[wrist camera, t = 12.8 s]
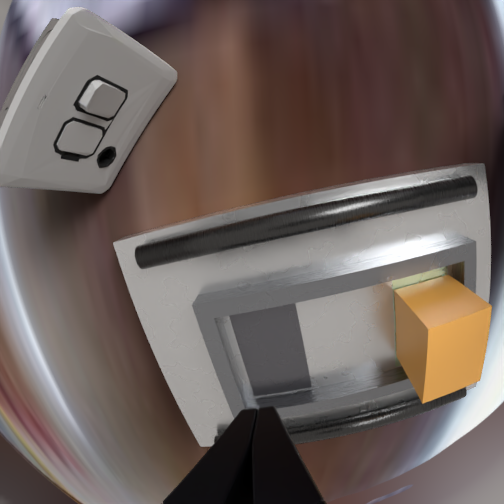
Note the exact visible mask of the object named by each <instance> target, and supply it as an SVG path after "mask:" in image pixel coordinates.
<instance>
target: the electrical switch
mask: <svg viewBox="0 0 504 504" xmlns="http://www.w3.org/2000/svg"><path fill="white" fill-rule="evenodd" d="M38 44H39V45H38ZM176 81H177V71H176V70H174V69H173V68H172V67H171V66H170V65H168V64H167V63H166V62H164V61H163V60H162V59H160V58H159V57H158V56H156V55H155V54H154V53H152V52H151V51H149V50H148V49H147V48H145V47H144V46H142V45H141V44H140V43H138V42H137V41H135V40H134V39H132V38H131V37H129V36H128V35H127V34H125V33H124V32H122V31H121V30H119V29H118V28H116V27H115V26H113V25H112V24H110V23H108V22H107V21H105V20H104V19H102V18H101V17H99V16H98V15H96V14H94V13H93V12H91V11H90V10H88V9H85V8H82V7H74V8H69V9H68V10H67V11H66V12H65V13H64V14H63V16H62V17H61V18H60V20H59V19H56V18H55V19H54V18H52V19H51V21H50V22H49V24H48V25H47V27H46V28H45V30H44V31H43V33H42V34H41V36H40V37H39V39H38V41H37V42H36V44H35V45H34V47H33V49H32V50H31V52H30V54H29V56H28V57H27V59H26V61H25V63H24V64H23V66H22V68H21V70H20V72H19V74H18V76H17V78H16V80H15V82H14V84H13V86H12V88H11V90H10V92H9V94H8V96H7V98H6V100H5V103H4V105H3V107H2V109H1V112H0V187H13V188H31V189H46V190H60V191H73V192H86V193H97V194H101V193H103V192H105V191H106V190H108V189H109V188H110V187H111V185H112V183H113V181H114V179H115V178H116V176H117V174H118V172H119V170H120V169H121V167H122V165H123V163H124V162H125V160H126V158H127V156H128V155H129V153H130V151H131V150H132V148H133V146H134V145H135V143H136V141H137V140H138V138H139V136H140V135H141V133H142V132H143V130H144V128H145V127H146V125H147V124H148V122H149V121H150V119H151V118H152V116H153V114H154V113H155V111H156V110H157V109H158V107H159V106H160V104H161V103H162V101H163V100H164V98H165V97H166V95H167V94H168V93H169V91H170V90H171V88H172V87H173V86H174V84H175V83H176Z"/></svg>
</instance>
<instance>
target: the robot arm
mask: <svg viewBox="0 0 504 504" xmlns="http://www.w3.org/2000/svg"><path fill="white" fill-rule="evenodd" d="M163 504H327V503H326V502H325V501H324V499H323V497H322V495H321V493H320V491H319V489H318V487H317V486H316V484H315V482H314V480H313V478H312V476H311V475H310V473H309V471H308V469H307V467H306V465H305V463H304V462H303V460H302V458H301V456H300V454H299V452H298V450H297V448H296V446H295V444H294V443H293V441H292V439H291V437H290V435H289V433H288V431H287V429H286V427H285V425H284V423H283V421H282V419H281V417H280V415H279V413H278V411H277V409H276V407H275V406H266V407H260V408H259V409H257V408H249V409H243V410H241V411H240V412H239V413H238V414H237V416H236V417H235V418H234V420H233V421H232V422H231V423H230V425H229V426H228V427H227V428H226V430H225V431H224V432H223V433H222V434H221V436H220V437H219V438H218V439H217V441H216V442H215V443H214V444H213V445H212V447H211V448H210V449H209V450H208V451H207V453H206V454H205V455H204V456H203V457H202V458H201V460H200V461H199V462H198V463H197V464H196V465H195V467H194V468H193V469H192V470H191V471H190V472H189V473H188V475H187V476H186V477H185V478H184V479H183V480H182V481H181V482H180V483H179V485H178V486H177V487H176V488H175V489H174V490H173V491H172V492H171V493H170V494H169V495H168V497H167V498H166V499H165V500H164V501H163Z"/></svg>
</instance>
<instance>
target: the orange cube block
mask: <svg viewBox="0 0 504 504" xmlns="http://www.w3.org/2000/svg"><path fill="white" fill-rule="evenodd" d="M394 298H395V316H396V357H397V358H398V360H399V362H400V364H401V365H402V367H403V369H404V371H405V373H406V374H407V376H408V378H409V380H410V382H411V383H412V385H413V387H414V389H415V391H416V393H417V394H418V396H419V398H420V400H421V402H422V404H423V403H426V402H428V401H431V400H434V399H437V398H439V397H442V396H444V395H447V394H450V393H452V392H455V391H457V390H459V389H462V388H464V387H466V386H469V385H471V384H473V383H476V382H478V381H480V378H481V373H482V368H483V364H484V358H485V353H486V347H487V341H488V334H489V327H490V319H491V310H492V306H491V305H490V304H489V303H487V302H486V301H485V300H483V299H482V298H481V297H479V296H478V295H476V294H475V293H474V292H472V291H471V290H470V289H468V288H467V287H465V286H464V285H463V284H461V283H460V282H458V281H457V280H456V279H454V278H453V277H451V276H450V275H445V276H442V277H438V278H435V279H432V280H428V281H424V282H421V283H417V284H414V285H410V286H406V287H403V288H399V289H395V290H394Z"/></svg>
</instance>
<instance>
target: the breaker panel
mask: <svg viewBox="0 0 504 504" xmlns="http://www.w3.org/2000/svg"><path fill="white" fill-rule="evenodd" d="M113 244H114V247H115V251H116V254H117V257H118V260H119V263H120V266H121V269H122V272H123V275H124V278H125V281H126V284H127V287H128V289H129V292H130V295H131V298H132V300H133V303H134V306H135V308H136V311H137V314H138V316H139V319H140V321H141V324H142V326H143V329H144V331H145V334H146V336H147V338H148V341H149V343H150V346H151V348H152V350H153V353H154V355H155V357H156V359H157V362H158V364H159V366H160V368H161V371H162V373H163V375H164V377H165V379H166V381H167V383H168V385H169V388H170V390H171V392H172V394H173V396H174V398H175V400H176V402H177V404H178V406H179V408H180V410H181V412H182V414H183V415H184V417H185V419H186V421H187V423H188V425H189V427H190V429H191V430H192V432H193V434H194V436H195V438H196V440H197V441H198V443H199V445H200V447H206V446H212V445H213V444H214V443H215V442H216V441H217V439H218V438H219V437H220V436H221V434H222V433H223V432H224V431H225V430H226V428H227V427H228V426H229V425H230V423H231V422H232V421H233V420H234V418H235V417H236V416H237V414H238V413H239V412H240V411H241V410H243V409H249V408H257V409H259V408H260V407H266V406H275V407H276V409H277V411H278V413H279V415H280V417H281V419H282V421H283V423H284V425H285V427H286V429H287V431H288V433H289V435H290V437H291V439H292V441H293V443H294V444H302V443H308V442H314V441H320V440H325V439H330V438H335V437H340V436H345V435H349V434H353V433H358V432H362V431H366V430H370V429H373V428H377V427H381V426H384V425H388V424H391V423H395V422H398V421H401V420H404V419H407V418H411V417H414V416H417V415H419V414H422V413H425V412H428V411H431V410H433V409H436V408H439V407H441V406H444V405H446V404H449V403H451V402H454V401H456V400H459V399H461V398H463V397H465V396H466V391H467V390H469V389H471V388H473V387H476V383H477V382H476V383H473V384H471V385H469V386H466V387H464V388H462V389H459V390H457V391H455V392H452V393H450V394H447V395H444V396H442V397H439V398H437V399H434V400H431V401H428V402H426V403H423V404H422V402H421V400H420V398H419V396H418V394H417V393H416V391H415V389H414V387H413V385H412V383H411V382H410V380H409V378H408V376H407V374H406V373H405V371H404V369H403V367H402V365H401V364H400V362H399V360H398V358H397V357H396V316H395V298H394V290H395V289H399V288H403V287H406V286H410V285H414V284H417V283H421V282H424V281H428V280H432V279H435V278H438V277H442V276H445V275H450V276H451V277H453V278H454V279H456V280H457V281H458V282H460V283H461V284H463V285H464V286H465V287H467V288H468V289H470V290H471V291H472V292H474V293H475V294H476V295H478V296H479V297H481V298H482V299H483V300H485V301H486V302H487V303H489V294H490V276H491V229H490V210H489V198H488V188H487V179H486V172H485V165H484V163H464V164H457V165H450V166H443V167H437V168H430V169H424V170H418V171H412V172H406V173H400V174H394V175H388V176H383V177H377V178H372V179H366V180H361V181H356V182H351V183H346V184H340V185H335V186H330V187H326V188H321V189H316V190H311V191H306V192H302V193H297V194H292V195H288V196H283V197H279V198H274V199H270V200H265V201H261V202H257V203H252V204H248V205H244V206H239V207H235V208H231V209H227V210H223V211H219V212H215V213H211V214H207V215H203V216H199V217H195V218H191V219H187V220H183V221H179V222H176V223H172V224H168V225H164V226H161V227H157V228H153V229H150V230H146V231H142V232H139V233H135V234H132V235H128V236H126V237H123V238H121V239H119V240H117V241H115V242H113Z"/></svg>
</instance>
